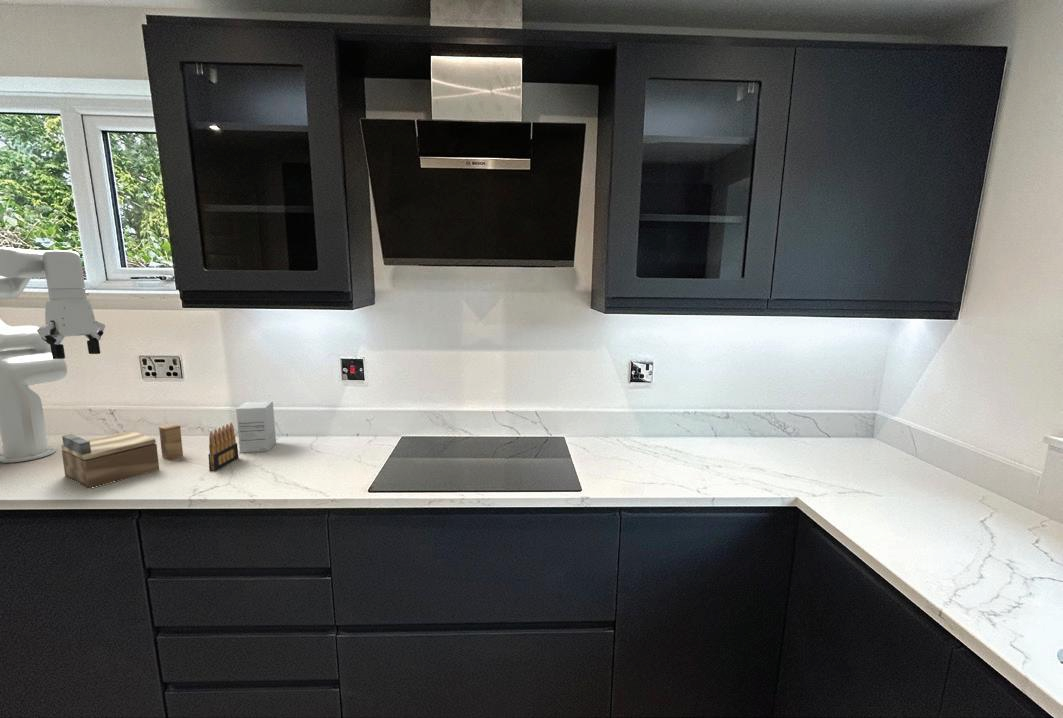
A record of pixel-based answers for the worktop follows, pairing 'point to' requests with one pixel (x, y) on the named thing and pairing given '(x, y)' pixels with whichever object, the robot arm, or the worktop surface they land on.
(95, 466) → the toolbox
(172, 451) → the brown wooden block
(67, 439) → the lid
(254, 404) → the supplement box
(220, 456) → the ammunition clip
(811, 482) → the worktop surface
